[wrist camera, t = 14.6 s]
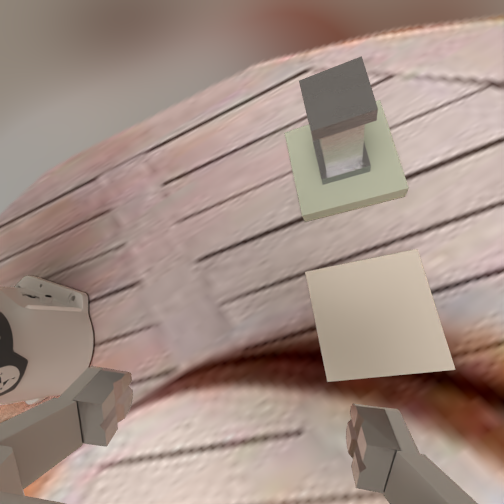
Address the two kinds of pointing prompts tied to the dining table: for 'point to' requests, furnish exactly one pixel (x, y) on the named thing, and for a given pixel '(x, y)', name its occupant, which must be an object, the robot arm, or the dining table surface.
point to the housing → (340, 118)
